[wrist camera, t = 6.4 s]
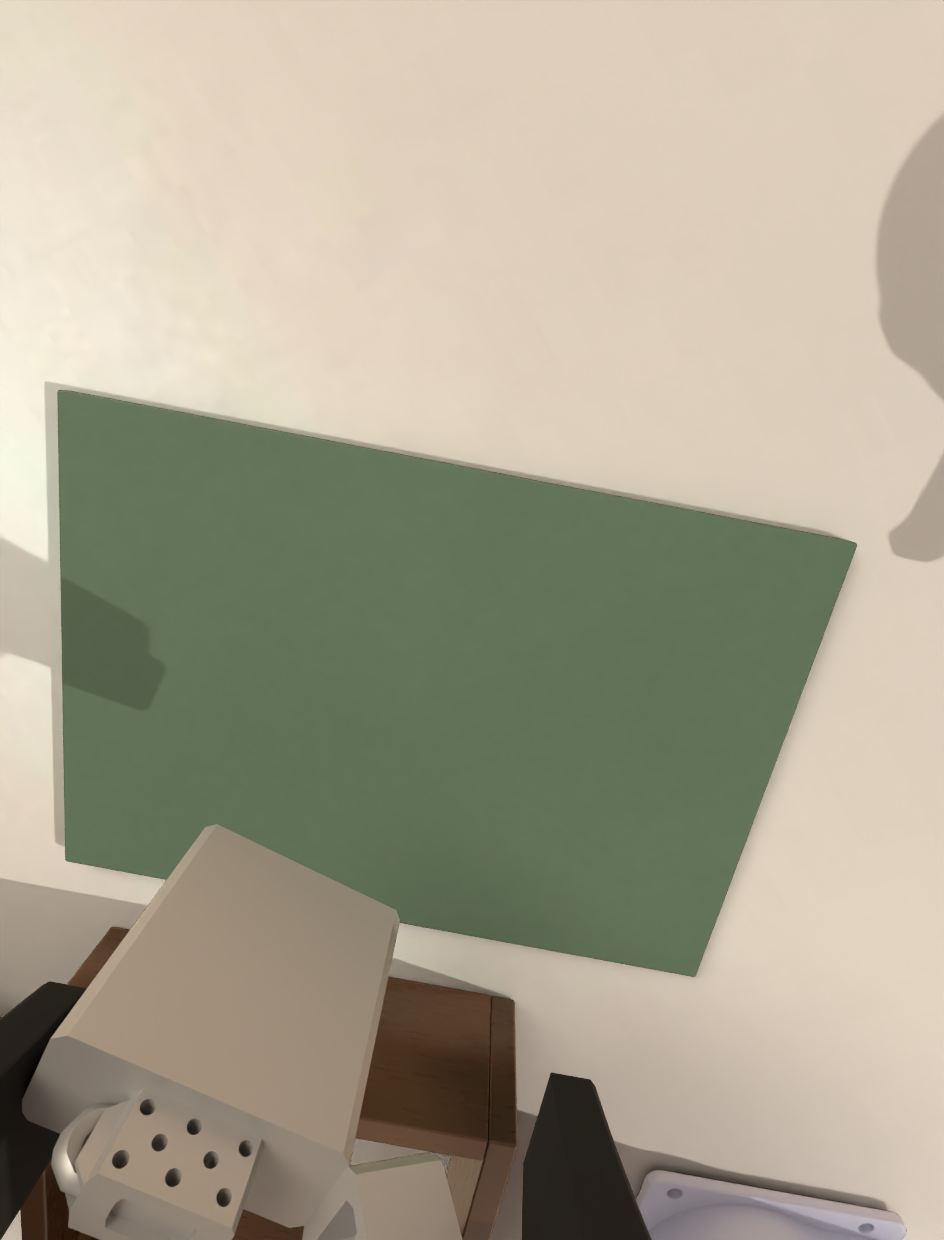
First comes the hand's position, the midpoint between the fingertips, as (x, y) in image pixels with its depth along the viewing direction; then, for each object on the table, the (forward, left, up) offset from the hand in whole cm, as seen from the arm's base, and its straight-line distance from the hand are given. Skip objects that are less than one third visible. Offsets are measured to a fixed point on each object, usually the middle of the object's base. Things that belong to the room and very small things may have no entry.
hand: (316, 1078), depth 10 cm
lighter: (0, 0, -3) cm, 3 cm away
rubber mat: (0, -2, -9) cm, 9 cm away
